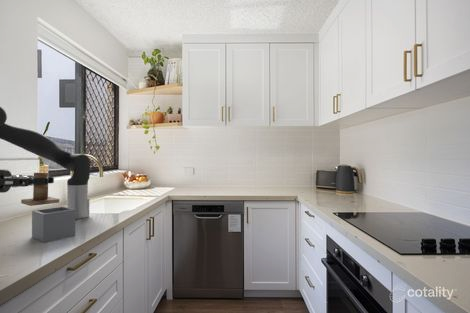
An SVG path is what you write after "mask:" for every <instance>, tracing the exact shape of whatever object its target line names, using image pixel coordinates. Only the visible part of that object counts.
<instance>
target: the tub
mask: <svg viewBox="0 0 470 313" xmlns="http://www.w3.org/2000/svg"><path fill="white" fill-rule="evenodd" d="M74 236H76V219H75V209H72V208H68V207H67V206H56V207H48V208H41V209H35V210H31V238H32V239H34V240H36V241H39V242H41V243H43V244H44V243H47V242H53V241H57V240H62V239H66V238H70V237H74Z"/></svg>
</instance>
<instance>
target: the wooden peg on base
mask: <svg viewBox="0 0 470 313" xmlns="http://www.w3.org/2000/svg"><path fill="white" fill-rule="evenodd" d="M33 176H34V179H35V178H48V177H49V172H33ZM32 187H33V188H32V190H33V193H32V198H26V199H25V198H24V199H23V198H22V199H21V201H20V203H21V204H23V205H26V206H30V207H33V206H34V207H35V206H41V205H42V206H43V205H50V204H58V203H60V198H56V197H51V196H49V183H48V184H47V185H35V184H34V185H33V186H32Z"/></svg>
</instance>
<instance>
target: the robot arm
mask: <svg viewBox="0 0 470 313" xmlns="http://www.w3.org/2000/svg"><path fill="white" fill-rule="evenodd" d="M7 119H8V114H7V112H6V110H5V109H4V108H3V107H1V106H0V140H3V141H5V142H8V143H10V144H12V145H14V146H17V147H18V148H21V149H23V150H25V151H27V152H29V153H32V154H33V155H36V156H39V157H41V158H44V159H46V160H49V161H52V162H54V163H55V164H57V165H59V166H60V167H62V168H64V169H65V170H68V171H69V172H72V176H71V177H70V178H68V179H67V183H66V184H67V185H66V186H67V188H66V191H67V192H66V201H67V202H66V207H68V208H72V209H75V220H80V219H85V218H89V217H90V198H89V194H88V192H89V191H88V190H89V188H88V187H89V180H90V176H91V159H90V158H89V156H88V155H86V154H84V153H71V152H68V151H67V150H65V149H64V150H63V149H62V148H60V147H59V146H58V145H57V143H56V142H55V141H53V140H52V139H51V138H49V137H48V136H46V135H45V134H42V133H41V132H39V131H35V130H31V129H27V128H23V127H17V126H14V125H13V126H12V125H11V124H7V123H6V121H7ZM53 183H55V177H53V176H48V178H35V179H34V174H33V175H32V174H31V175H27V174H25V175H23V174H15V175H14V174H13V175H12V172H11V171H10V170H8V169H0V193H1V194H3V193H7V192H9V190H11V188H26V187H30V186H31V187H33V185H34V184H35V185H47V184H48V185H49V184H53Z"/></svg>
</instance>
